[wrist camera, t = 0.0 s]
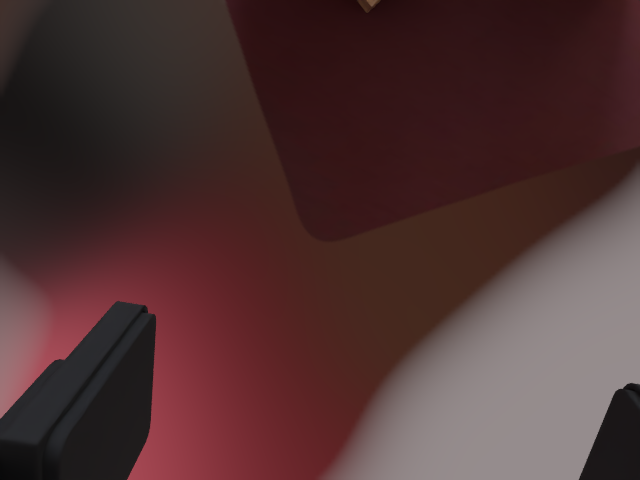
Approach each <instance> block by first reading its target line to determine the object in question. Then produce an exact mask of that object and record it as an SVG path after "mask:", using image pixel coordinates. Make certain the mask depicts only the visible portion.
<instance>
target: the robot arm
mask: <svg viewBox="0 0 640 480" xmlns="http://www.w3.org/2000/svg"><path fill="white" fill-rule="evenodd" d="M155 331H156V316H155V315H154V314H148V310H147V307H146V306H145V305H138V304H132V303H126V302H120V301H117V302H116V303H115V304H114V305H113V306H112V307H111V308H110V309H109V310H108V311H107V313H106V314H105V315H104V316H103V317H102V318H101V320H100V321H99V322H98V323H97V324H96V325H95V326H94V327H93V329H92V330H91V331H90V332H89V333H88V334H87V335H86V336H85V338H84V339H83V340H82V341H81V342H80V344H78V346H77V347H76V348H75V349H74V350H73V351H72V352H71V354H70V355H69V356H68V357H67V358H66V359H65V360H61V359H59V360H55V361H54V362H53V363H52V364H50V365H49V366H48V367H47V368H46V370H45V371H44V372H43V373H42V374H41V375H40V376H39V377H38V378H37V379H36V380H35V382H34V383H33V384H32V385H31V386H30V387H29V388H28V389H27V390H26V391H25V393H24V394H23V395H22V396H21V397H20V398H19V399H18V400H17V401H16V402H15V404H14V405H13V406H12V407H11V408H10V409H9V410H8V411H7V412H6V413H5V414H4V416H3V417H2V418H1V419H0V480H127V479H128V477H129V475H130V472H131V471H132V468H133V467H134V465H135V463H136V461H137V458H138V456H139V455H140V452H141V451H142V448H143V446H144V445H145V442H146V440H147V437H148V433H149V429H150V421H151V405H152V403H151V402H152V387H153V385H152V384H153V368H154V350H155V349H154V348H155ZM579 480H640V385H639V384H633V383H630V384H627V385H626V386H625V387H624V388H623V389H619V390H617V391H616V392H615V394H614V396H613V398H612V401H611V403H610V406H609V408H608V410H607V413H606V415H605V418H604V420H603V423H602V425H601V427H600V430H599V432H598V434H597V437H596V439H595V442H594V444H593V447H592V449H591V451H590V454H589V456H588V459H587V461H586V464H585V466H584V468H583V471H582V473H581V476H580V478H579Z"/></svg>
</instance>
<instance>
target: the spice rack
mask: <svg viewBox="0 0 640 480" xmlns="http://www.w3.org/2000/svg"><path fill="white" fill-rule="evenodd" d="M357 1H358V3H359V4H360V5H361V6H362V8H363V9H364V10H365V12H366V13H368V12H369V11H370V10H371V9H372V8H374V7H375V6H376V5H377V4H378V3H379V2H380V1H381V0H357Z"/></svg>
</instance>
